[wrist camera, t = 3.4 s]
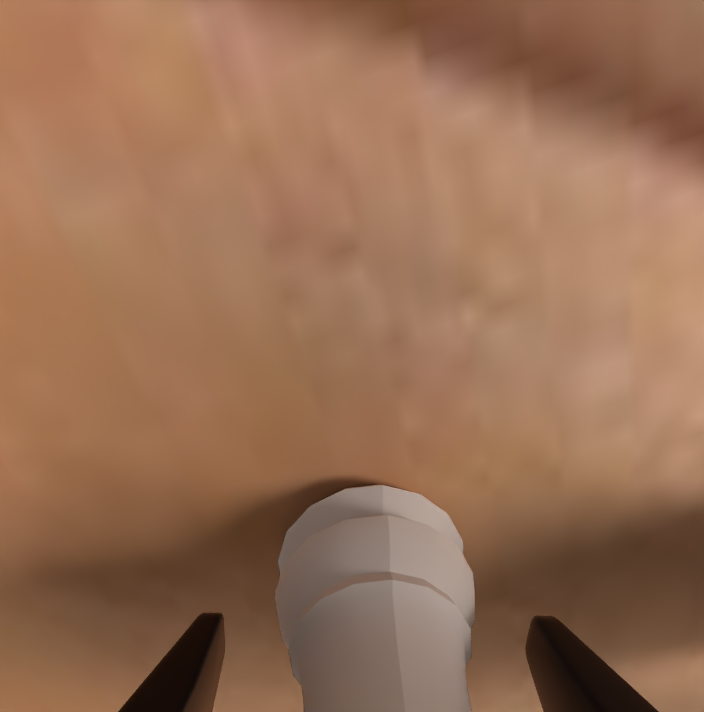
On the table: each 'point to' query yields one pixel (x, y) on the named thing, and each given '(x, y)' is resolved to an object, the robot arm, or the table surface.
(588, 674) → the robot arm
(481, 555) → the table surface
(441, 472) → the table surface
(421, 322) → the table surface
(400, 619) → the rook chess piece
